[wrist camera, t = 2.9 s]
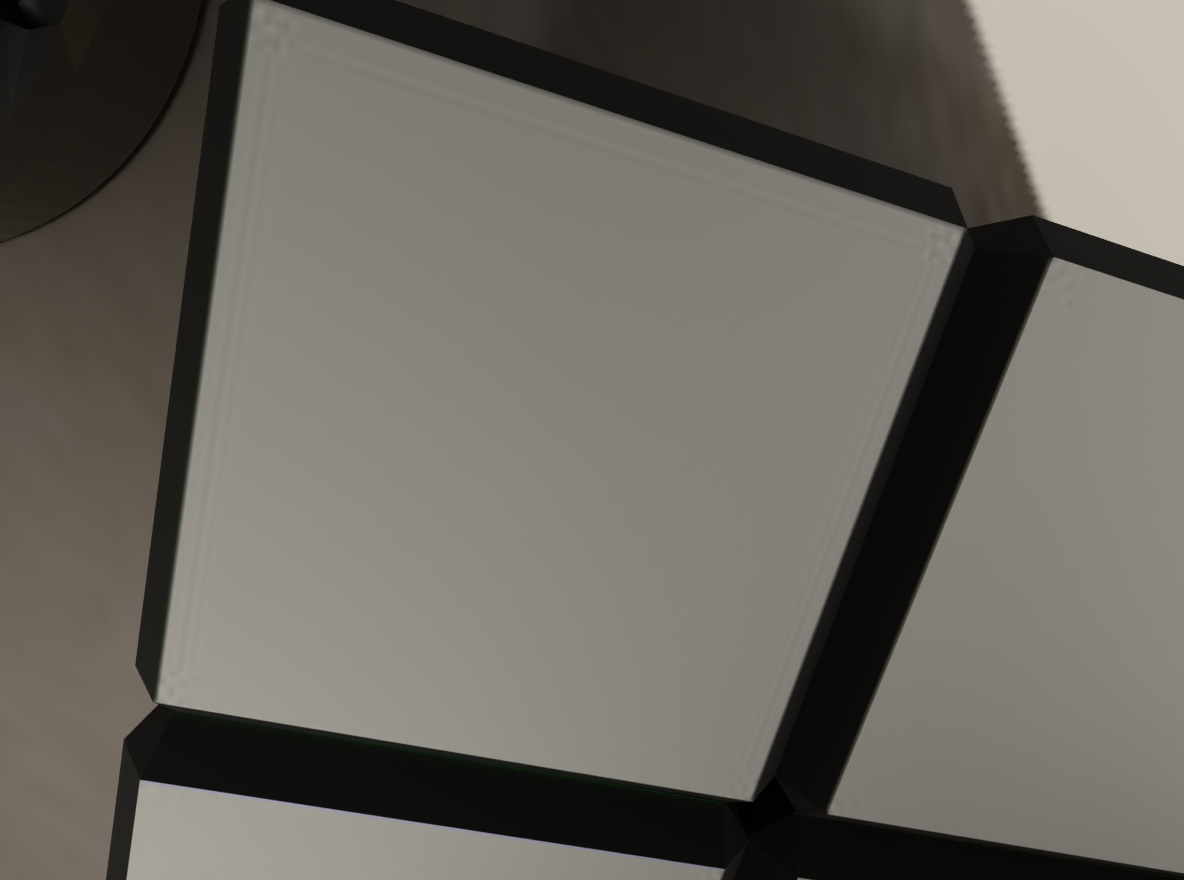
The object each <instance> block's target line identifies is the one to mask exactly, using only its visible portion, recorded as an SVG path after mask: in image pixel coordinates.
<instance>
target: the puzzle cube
mask: <svg viewBox="0 0 1184 880" xmlns="http://www.w3.org/2000/svg"><path fill="white" fill-rule="evenodd" d="M135 665H136V668H137V670H138V672H139V674H140V676H141V678H142V680H143V682H144V684H145V686H146V689H147V691H148V693H149V695H150V697H151V699H152V701H153V702H154V703H157V704H159V705H158V706H157V707H156V708H155V709H154V710H153V711H152V712H151V713H150V714H149V715H148V716H147V717H146V718H145V719H144V720H143V721H142V722H141V723H140V724H139V725H138V726H137V727H136V728H135V729H134V730H133V731H132V732H131V733H130V734H129V735H128V736H127V737H126V738H125V739H124V743H123V751H122V759H121V767H120V775H119V783H118V790H117V798H116V806H115V814H114V822H113V830H112V837H111V845H110V853H109V861H108V869H107V877H106V880H1184V266H1181V265H1179V264H1176V263H1173V262H1170V261H1167V260H1164V259H1161V258H1158V257H1155V256H1152V255H1149V254H1146V253H1143V252H1140V251H1137V250H1134V249H1131V248H1128V247H1125V246H1122V245H1119V244H1116V243H1113V242H1110V241H1107V240H1104V239H1101V238H1098V237H1095V236H1093V235H1089V234H1087V233H1083V232H1081V231H1078V230H1075V229H1072V228H1069V227H1066V226H1063V225H1060V224H1057V223H1054V222H1051V221H1048V220H1045V219H1042V218H1039V217H1036V216H1033V215H1031V216H1027V217H1022V218H1017V219H1012V220H1007V221H1002V222H997V223H992V224H988V225H983V226H978V227H973V228H967V226H966V223H965V220H964V218H963V215H962V213H961V210H960V208H959V205H958V203H957V200H956V198H955V195H954V192H953V190H952V188H950V187H947V186H944V185H941V184H938V183H935V182H932V181H929V180H926V179H923V178H920V177H918V176H915V175H912V174H909V173H906V172H903V171H900V170H897V169H894V168H891V167H888V166H885V165H882V164H879V163H876V162H873V161H870V160H867V159H864V158H861V157H858V156H855V155H852V154H849V153H846V152H843V151H840V150H837V149H834V148H831V147H829V146H826V145H823V144H820V143H817V142H814V141H811V140H808V139H805V138H802V137H799V136H796V135H793V134H790V133H787V132H784V131H781V130H778V129H775V128H772V127H769V126H766V125H763V124H760V123H757V122H754V121H751V120H748V119H745V118H742V117H740V116H737V115H734V114H731V113H728V112H725V111H722V110H719V109H716V108H713V107H710V106H707V105H704V104H701V103H698V102H695V101H692V100H689V99H686V98H683V97H680V96H677V95H674V94H671V93H668V92H665V91H662V90H659V89H656V88H654V87H651V86H648V85H645V84H642V83H639V82H636V81H633V80H630V79H627V78H624V77H621V76H618V75H615V74H612V73H609V72H606V71H603V70H600V69H597V68H594V67H591V66H588V65H585V64H582V63H579V62H576V61H573V60H570V59H568V58H565V57H562V56H559V55H556V54H553V53H550V52H547V51H544V50H541V49H538V48H535V47H532V46H529V45H526V44H523V43H520V42H517V41H514V40H511V39H508V38H505V37H502V36H499V35H496V34H493V33H490V32H487V31H484V30H481V29H479V28H476V27H473V26H470V25H467V24H464V23H461V22H458V21H455V20H452V19H449V18H446V17H443V16H440V15H437V14H434V13H431V12H428V11H425V10H422V9H419V8H416V7H413V6H410V5H407V4H404V3H401V2H398V1H395V0H227V1H225V2H224V3H222V4H221V5H220V8H219V16H218V24H217V32H216V40H215V47H214V55H213V63H212V71H211V79H210V86H209V94H208V102H207V110H206V118H205V125H204V133H203V141H202V149H201V157H200V164H199V172H198V180H197V188H196V196H195V204H194V211H193V219H192V227H191V235H190V243H189V250H188V258H187V266H186V274H185V282H184V289H183V297H182V305H181V313H180V321H179V328H178V336H177V344H176V352H175V360H174V367H173V375H172V383H171V391H170V399H169V406H168V414H167V422H166V430H165V438H164V445H163V453H162V461H161V469H160V477H159V484H158V492H157V500H156V508H155V516H154V524H153V531H152V539H151V547H150V555H149V563H148V570H147V578H146V586H145V594H144V602H143V609H142V617H141V625H140V633H139V641H138V648H137V656H136V664H135Z"/></svg>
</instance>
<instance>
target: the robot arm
mask: <svg viewBox="0 0 1184 880" xmlns="http://www.w3.org/2000/svg"><path fill="white" fill-rule="evenodd" d="M201 2H202V0H0V242H1V241H4V240H7V239H10V238H12V237H15V236H18V235H21V234H23V233H25V232H27V231H29V230H31V229H34V228H36V227H38V226H40V225H42V224H44V223H46V222H48V221H50V220H51V219H53V218H55V217H56V216H58V215H60V214H62V213H63V212H65V211H67V210H68V209H70V208H71V207H73V206H74V205H75V204H77V203H78V202H80V201H81V200H82V199H84V198H85V197H87V196H88V195H89V194H91V193H92V192H93V191H94V190H95V189H96V188H98V187H99V186H100V185H101V184H102V183H103V182H104V181H106V180H107V179H108V178H109V177H110V176H111V175H112V174H113V173H114V172H115V171H116V170H117V169H118V168H119V167H120V166H121V165H122V163H123V162H124V161H125V160H126V159H127V158H128V157H129V156H130V155H131V153H132V152H133V151H134V150H135V148H136V147H137V146H138V144H139V143H140V142H141V141H142V139H143V138H144V137H145V135H146V134H147V133H148V131H149V129H150V128H151V126H152V125H153V123H154V122H155V120H156V118H157V117H158V115H159V114H160V112H161V111H162V109H163V107H164V105H165V103H166V101H167V99H168V97H169V95H170V93H171V91H172V89H173V87H174V85H175V83H176V81H177V78H178V76H179V74H180V71H181V69H182V66H183V64H184V61H185V59H186V57H187V53H188V50H189V47H190V44H191V41H192V37H193V34H194V31H195V28H196V24H197V20H198V15H199V11H200V7H201Z"/></svg>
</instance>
